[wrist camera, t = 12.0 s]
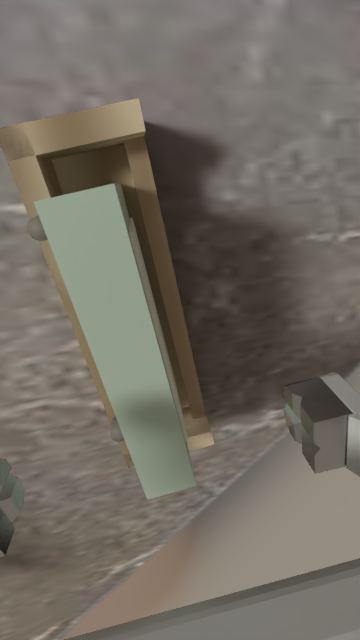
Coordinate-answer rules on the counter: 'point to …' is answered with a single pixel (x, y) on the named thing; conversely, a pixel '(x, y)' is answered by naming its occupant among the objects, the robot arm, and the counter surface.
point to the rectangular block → (121, 329)
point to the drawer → (143, 206)
